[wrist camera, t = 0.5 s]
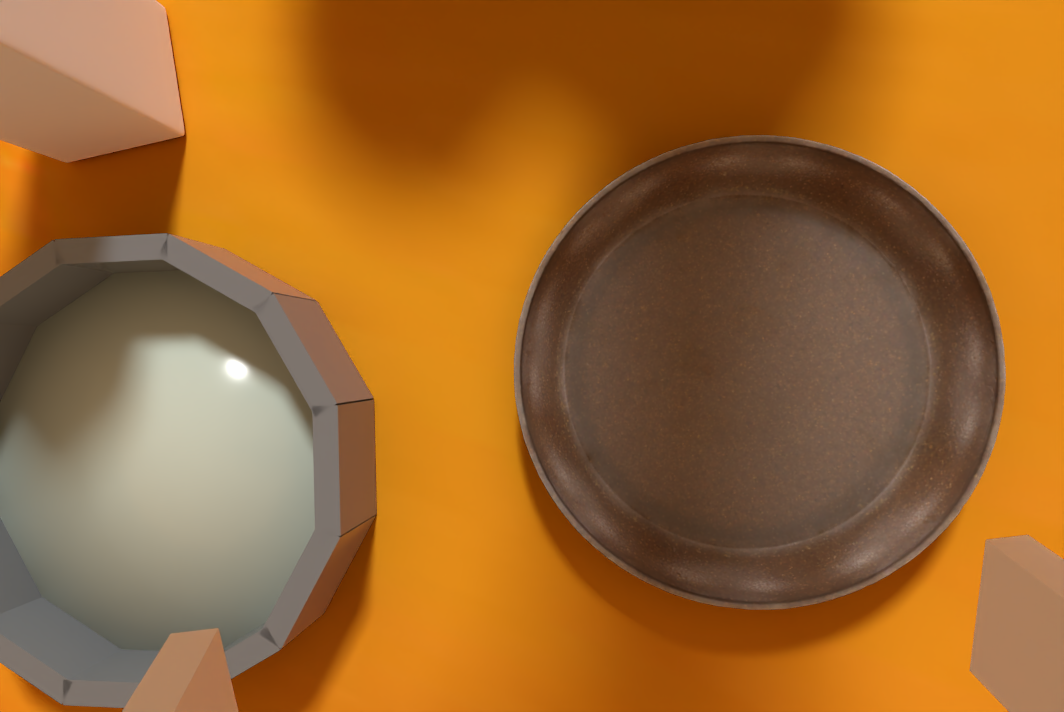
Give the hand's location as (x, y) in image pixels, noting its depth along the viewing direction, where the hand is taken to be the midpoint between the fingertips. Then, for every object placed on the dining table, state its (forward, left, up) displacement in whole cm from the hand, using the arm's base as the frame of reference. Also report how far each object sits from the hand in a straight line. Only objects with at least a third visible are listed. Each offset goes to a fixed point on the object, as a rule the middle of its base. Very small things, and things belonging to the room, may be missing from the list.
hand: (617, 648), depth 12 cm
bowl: (0, -24, -22) cm, 32 cm away
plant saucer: (-4, +5, -23) cm, 24 cm away
